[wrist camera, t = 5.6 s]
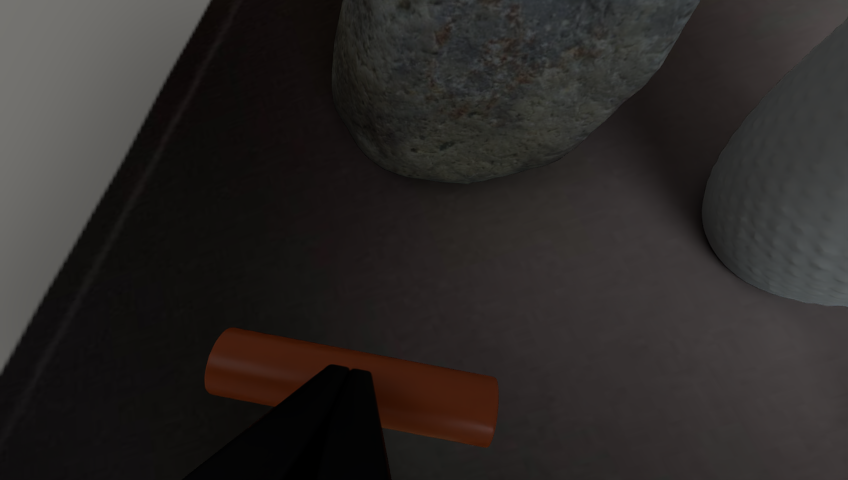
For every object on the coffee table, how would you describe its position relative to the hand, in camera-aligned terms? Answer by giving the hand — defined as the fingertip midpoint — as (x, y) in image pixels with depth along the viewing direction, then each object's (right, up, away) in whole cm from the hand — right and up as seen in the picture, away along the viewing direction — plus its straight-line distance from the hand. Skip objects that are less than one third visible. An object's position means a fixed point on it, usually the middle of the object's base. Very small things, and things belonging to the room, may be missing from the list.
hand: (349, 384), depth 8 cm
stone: (+4, +11, +17) cm, 20 cm away
